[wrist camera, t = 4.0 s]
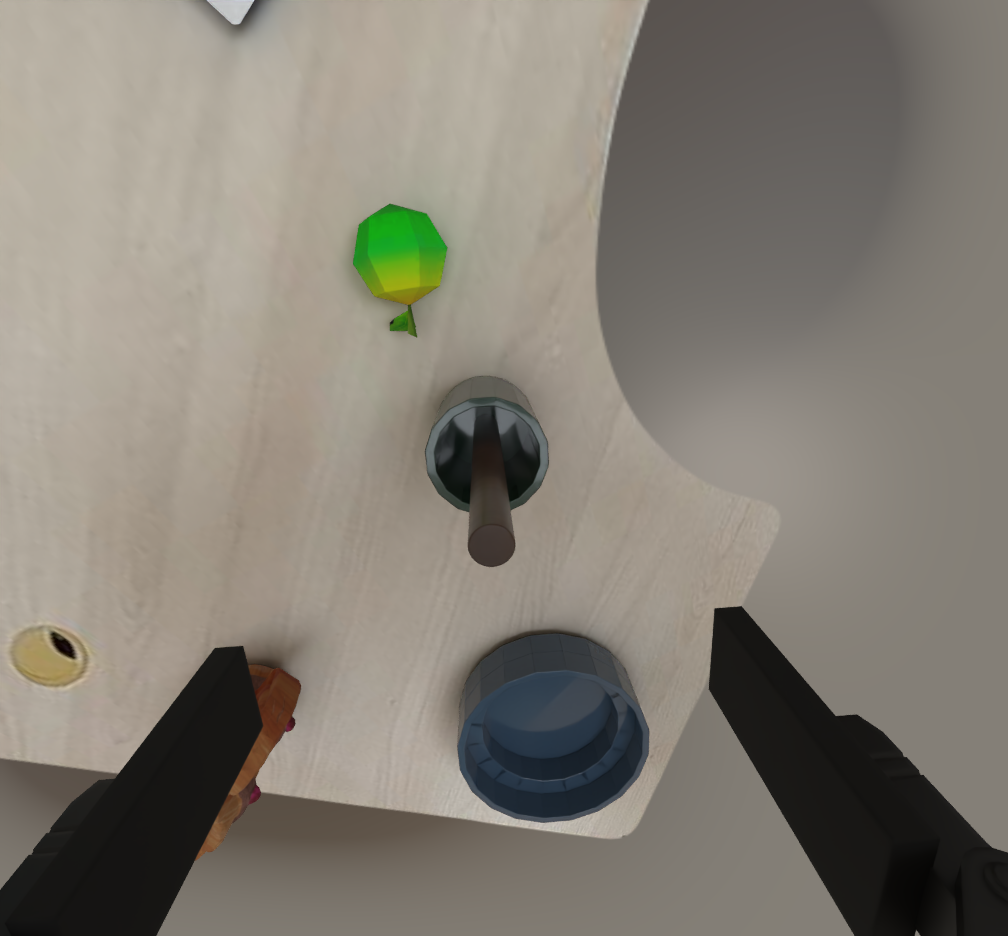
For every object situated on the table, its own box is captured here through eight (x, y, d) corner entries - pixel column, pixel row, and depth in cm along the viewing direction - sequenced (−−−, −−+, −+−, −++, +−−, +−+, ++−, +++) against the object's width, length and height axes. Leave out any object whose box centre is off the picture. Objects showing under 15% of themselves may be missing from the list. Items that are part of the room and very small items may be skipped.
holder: (531, 372, 42) (546, 393, 33) (535, 466, 45) (550, 510, 35) (432, 379, 42) (419, 402, 33) (442, 472, 45) (432, 519, 35)
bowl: (631, 621, 50) (651, 663, 44) (629, 760, 55) (646, 813, 50) (453, 636, 50) (449, 679, 44) (468, 774, 55) (466, 829, 49)
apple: (371, 189, 31) (406, 341, 34) (453, 189, 35) (479, 326, 38) (321, 219, 36) (355, 348, 39) (397, 216, 40) (423, 334, 43)
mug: (263, 741, 52) (182, 906, 38) (193, 696, 50) (80, 853, 36) (356, 649, 50) (307, 790, 35) (287, 599, 48) (204, 726, 33)
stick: (497, 413, 42) (514, 522, 21) (498, 437, 43) (516, 565, 22) (472, 415, 42) (465, 526, 21) (474, 438, 43) (469, 569, 22)
